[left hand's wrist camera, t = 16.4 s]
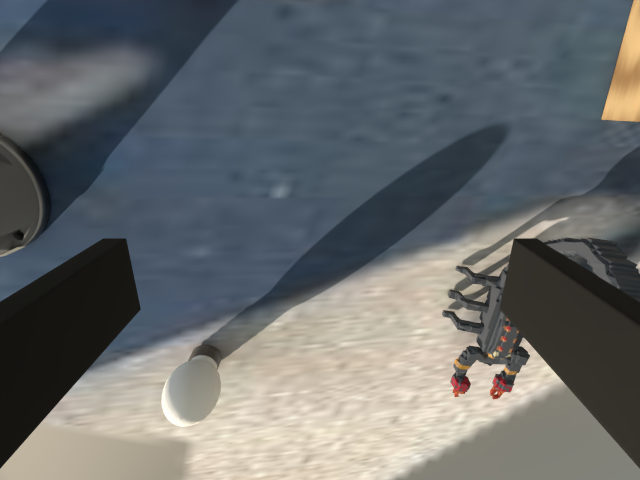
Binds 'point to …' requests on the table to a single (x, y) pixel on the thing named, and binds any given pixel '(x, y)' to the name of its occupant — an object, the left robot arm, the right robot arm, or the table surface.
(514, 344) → the toy
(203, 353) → the light bulb
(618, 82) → the long box
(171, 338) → the table surface
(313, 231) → the table surface
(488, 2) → the table surface
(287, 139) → the table surface
